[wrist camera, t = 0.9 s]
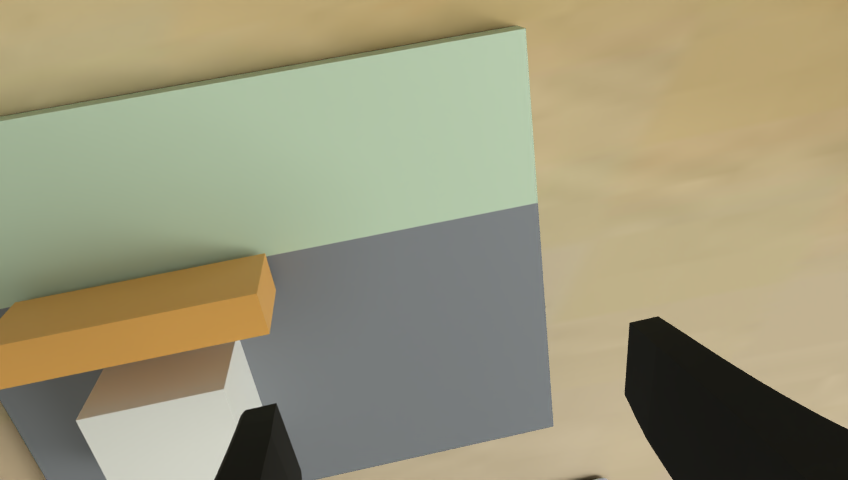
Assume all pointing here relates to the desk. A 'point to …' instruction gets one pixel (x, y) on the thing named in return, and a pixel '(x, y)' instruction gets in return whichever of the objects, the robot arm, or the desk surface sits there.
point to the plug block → (168, 414)
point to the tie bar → (135, 320)
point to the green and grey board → (308, 241)
